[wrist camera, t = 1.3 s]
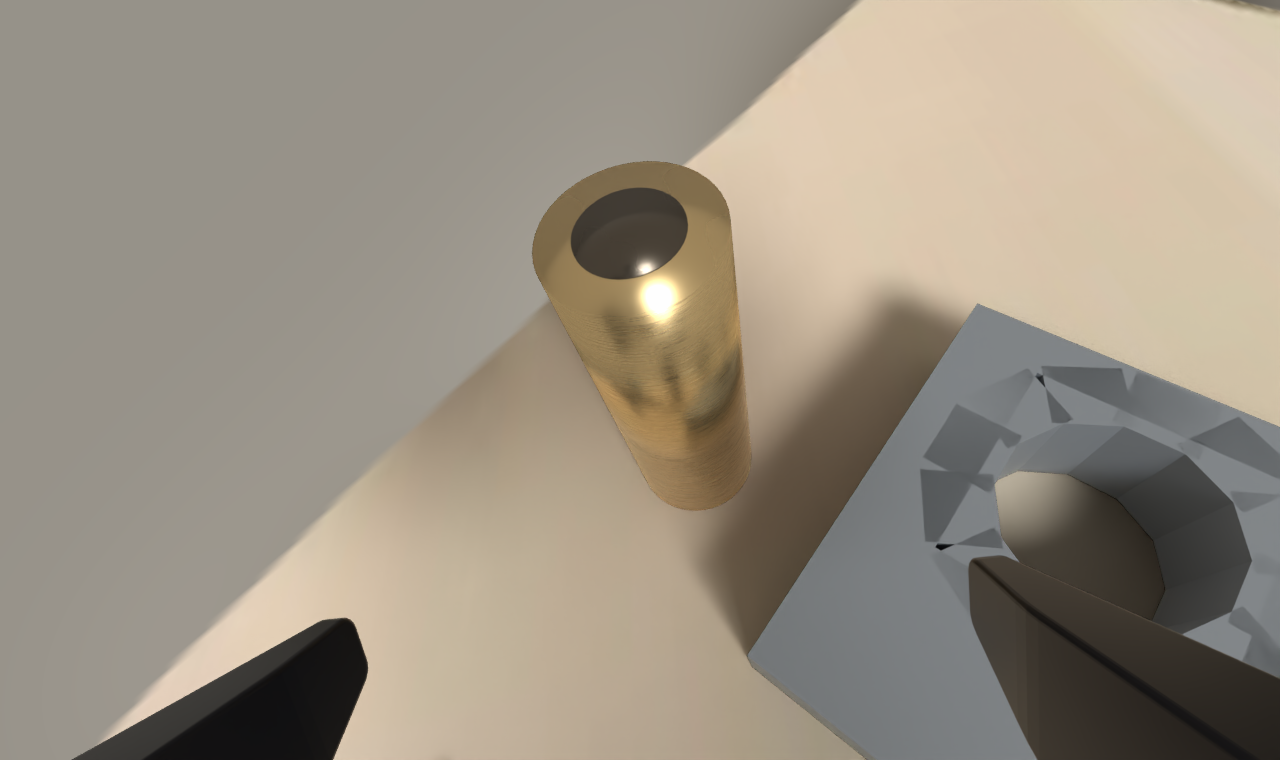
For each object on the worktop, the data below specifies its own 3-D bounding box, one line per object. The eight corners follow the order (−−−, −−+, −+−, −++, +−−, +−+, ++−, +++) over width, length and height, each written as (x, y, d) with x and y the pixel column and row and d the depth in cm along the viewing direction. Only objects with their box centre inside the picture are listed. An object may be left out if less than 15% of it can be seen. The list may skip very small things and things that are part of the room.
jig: (1415, 578, 18) (1568, 544, 14) (1264, 1080, 14) (1423, 1198, 10) (948, 363, 24) (977, 303, 20) (752, 666, 20) (746, 655, 17)
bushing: (772, 443, 24) (771, 199, 13) (708, 533, 22) (643, 349, 11) (684, 390, 26) (616, 137, 15) (620, 470, 24) (491, 260, 13)
